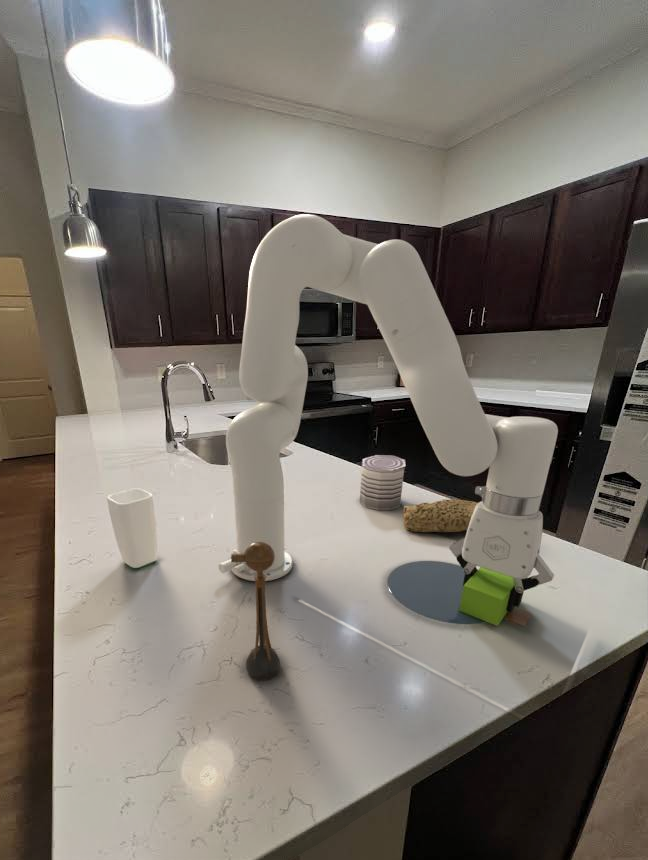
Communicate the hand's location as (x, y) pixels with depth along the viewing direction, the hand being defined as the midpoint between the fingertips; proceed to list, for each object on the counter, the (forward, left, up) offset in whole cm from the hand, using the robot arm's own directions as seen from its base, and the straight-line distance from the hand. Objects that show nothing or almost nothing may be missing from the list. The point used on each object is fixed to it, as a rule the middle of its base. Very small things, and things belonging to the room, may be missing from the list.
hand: (489, 599), depth 70 cm
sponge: (+26, +19, -2) cm, 32 cm away
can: (+30, +39, -2) cm, 49 cm away
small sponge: (0, 0, -1) cm, 1 cm away
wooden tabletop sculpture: (-36, +19, -2) cm, 41 cm away
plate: (0, +8, -2) cm, 8 cm away
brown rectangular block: (0, -5, -2) cm, 5 cm away
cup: (-32, +59, -2) cm, 67 cm away
